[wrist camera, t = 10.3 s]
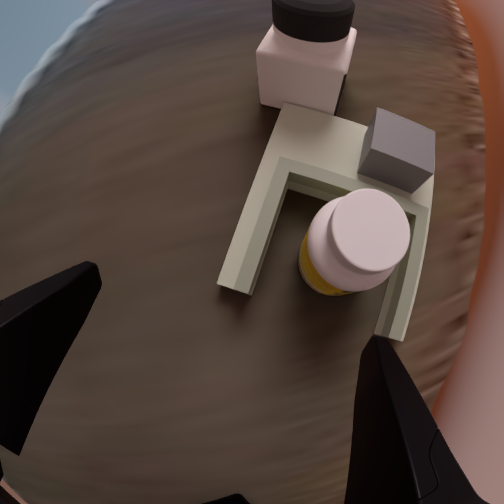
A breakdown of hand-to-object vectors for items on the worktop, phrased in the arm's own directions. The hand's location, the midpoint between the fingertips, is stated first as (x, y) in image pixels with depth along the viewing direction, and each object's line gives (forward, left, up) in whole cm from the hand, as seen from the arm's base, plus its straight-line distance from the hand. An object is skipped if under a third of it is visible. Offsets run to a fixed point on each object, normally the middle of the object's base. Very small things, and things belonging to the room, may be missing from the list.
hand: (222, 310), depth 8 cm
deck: (+10, +3, -14) cm, 17 cm away
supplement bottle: (+7, 0, -14) cm, 15 cm away
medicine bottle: (+15, +15, -14) cm, 25 cm away
